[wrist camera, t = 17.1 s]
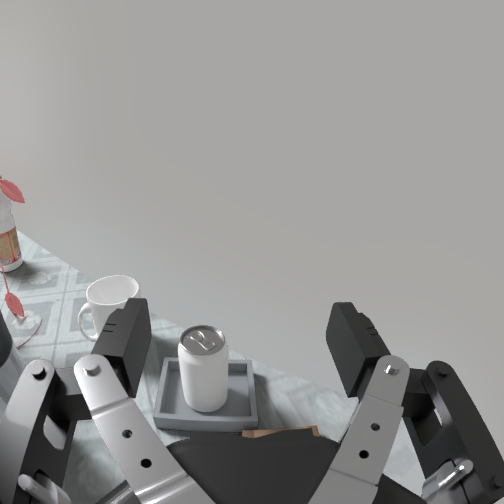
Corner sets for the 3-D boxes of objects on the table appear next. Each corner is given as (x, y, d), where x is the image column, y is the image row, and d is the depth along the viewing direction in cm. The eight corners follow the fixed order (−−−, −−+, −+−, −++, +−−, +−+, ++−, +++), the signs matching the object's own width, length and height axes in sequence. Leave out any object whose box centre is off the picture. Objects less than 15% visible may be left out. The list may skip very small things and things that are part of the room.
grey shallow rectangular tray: (156, 427, 35) (152, 416, 34) (166, 369, 46) (164, 356, 45) (256, 431, 36) (258, 420, 35) (250, 372, 47) (251, 359, 46)
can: (206, 375, 45) (203, 316, 40) (236, 396, 41) (239, 339, 36) (175, 395, 40) (165, 338, 35) (205, 421, 37) (201, 365, 32)
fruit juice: (4, 276, 64) (-16, 181, 52) (-5, 267, 67) (-23, 180, 55) (27, 263, 72) (11, 173, 60) (16, 256, 75) (2, 172, 63)
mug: (158, 343, 51) (150, 290, 46) (105, 374, 43) (87, 319, 38) (130, 320, 56) (122, 270, 52) (81, 345, 48) (65, 293, 43)
